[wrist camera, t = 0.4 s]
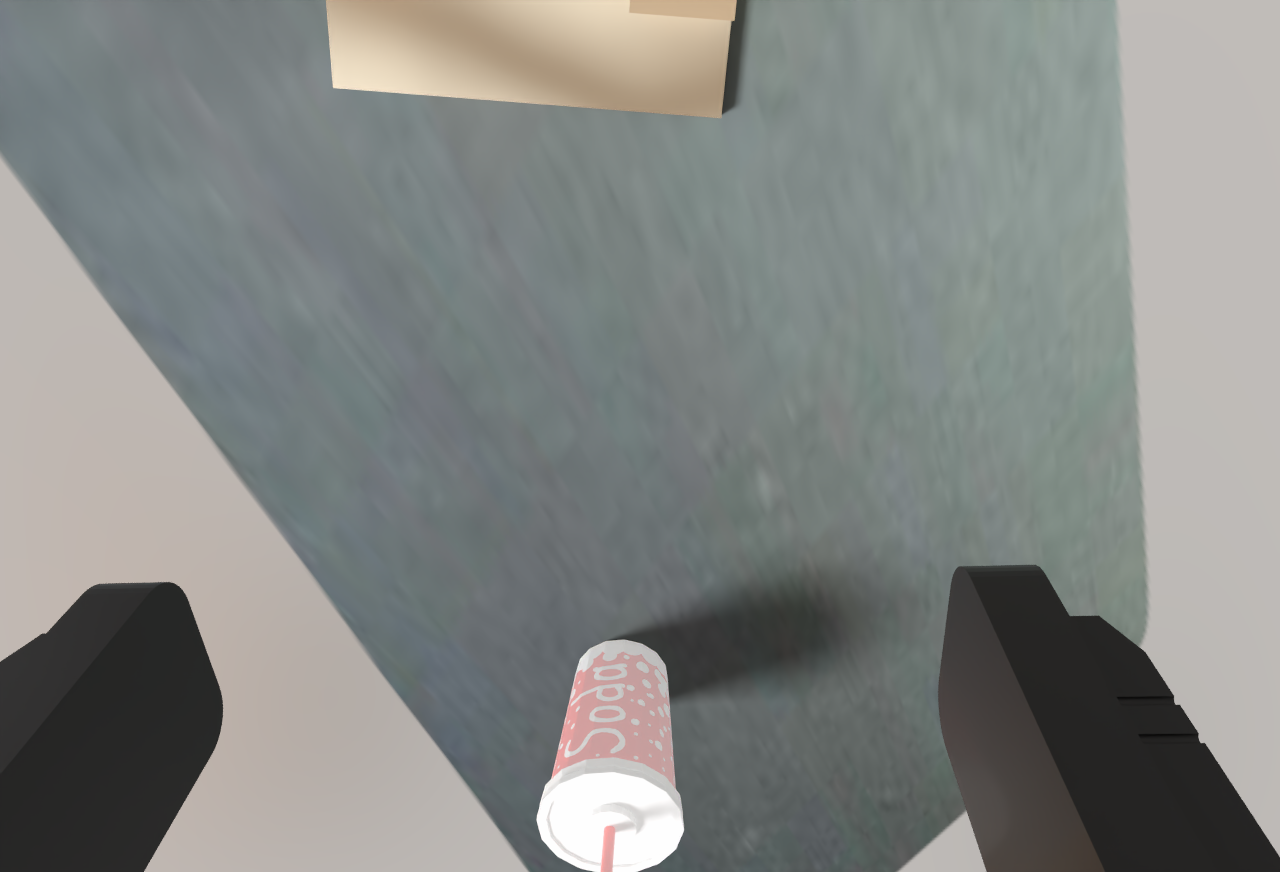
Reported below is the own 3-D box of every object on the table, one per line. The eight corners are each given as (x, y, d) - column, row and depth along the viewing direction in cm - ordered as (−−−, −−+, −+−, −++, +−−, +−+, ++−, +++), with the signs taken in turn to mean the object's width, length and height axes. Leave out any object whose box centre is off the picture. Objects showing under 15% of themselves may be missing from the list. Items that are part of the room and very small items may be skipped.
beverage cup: (688, 631, 45) (691, 891, 32) (677, 724, 47) (678, 996, 35) (562, 622, 45) (517, 878, 32) (559, 716, 47) (517, 984, 35)
